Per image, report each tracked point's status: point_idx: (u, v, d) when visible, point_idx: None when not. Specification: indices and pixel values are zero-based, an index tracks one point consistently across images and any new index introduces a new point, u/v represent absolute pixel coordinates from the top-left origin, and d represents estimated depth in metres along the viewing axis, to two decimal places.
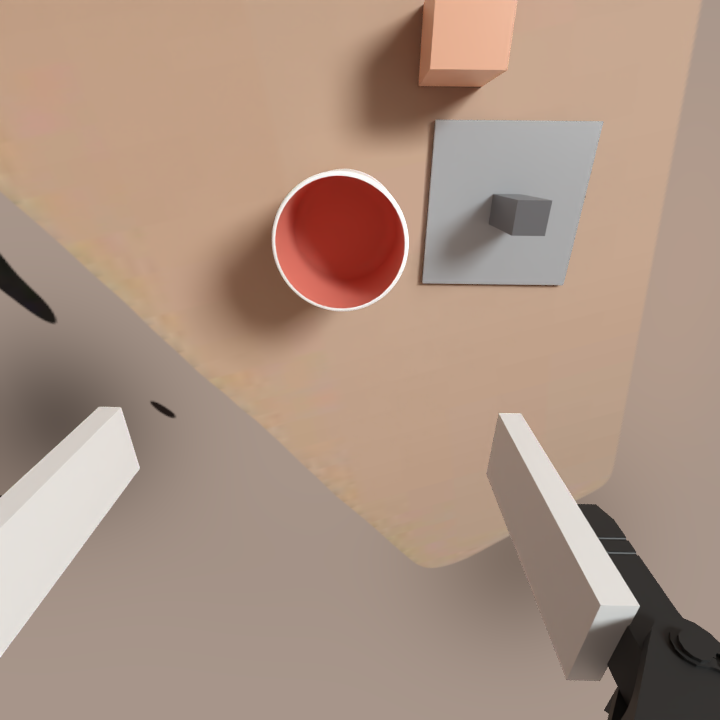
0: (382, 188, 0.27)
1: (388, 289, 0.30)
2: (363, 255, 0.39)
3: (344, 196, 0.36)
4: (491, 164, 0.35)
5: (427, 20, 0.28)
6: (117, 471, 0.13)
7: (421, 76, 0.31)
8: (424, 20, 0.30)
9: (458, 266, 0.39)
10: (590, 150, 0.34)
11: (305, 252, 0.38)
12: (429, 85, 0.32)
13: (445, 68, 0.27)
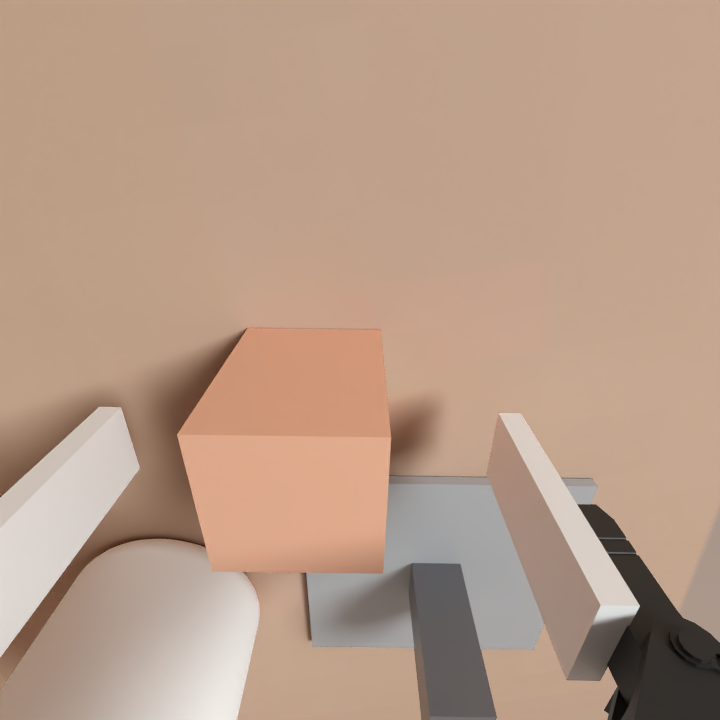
0: None
1: None
2: None
3: None
4: (405, 532, 0.20)
5: None
6: (117, 471, 0.13)
7: None
8: None
9: (365, 632, 0.24)
10: None
11: None
12: None
13: (245, 570, 0.12)
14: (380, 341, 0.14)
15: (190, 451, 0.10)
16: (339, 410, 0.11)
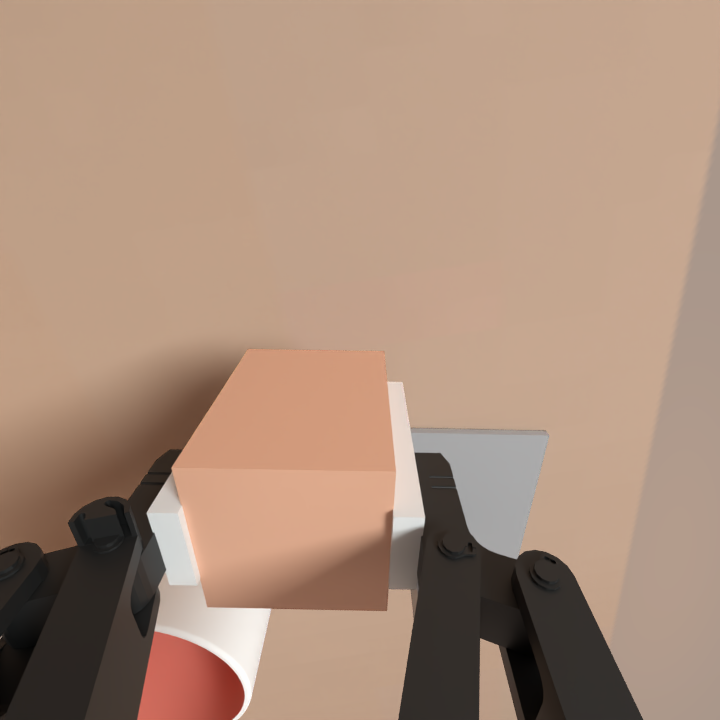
0: (196, 638, 0.18)
1: None
2: None
3: None
4: None
5: None
6: None
7: None
8: None
9: None
10: (534, 463, 0.25)
11: None
12: None
13: (242, 606, 0.11)
14: (384, 364, 0.14)
15: (185, 485, 0.09)
16: (341, 440, 0.10)
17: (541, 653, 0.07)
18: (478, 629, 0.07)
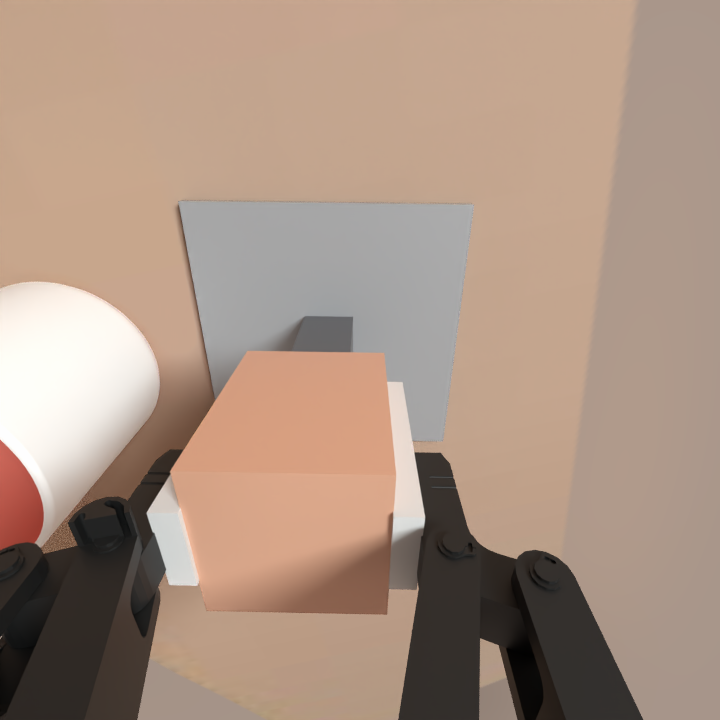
0: None
1: (38, 543, 0.16)
2: None
3: None
4: (292, 271, 0.20)
5: None
6: None
7: None
8: None
9: None
10: (458, 250, 0.20)
11: None
12: None
13: (242, 609, 0.11)
14: (384, 365, 0.14)
15: (184, 488, 0.09)
16: (341, 443, 0.10)
17: (541, 653, 0.07)
18: (478, 629, 0.07)
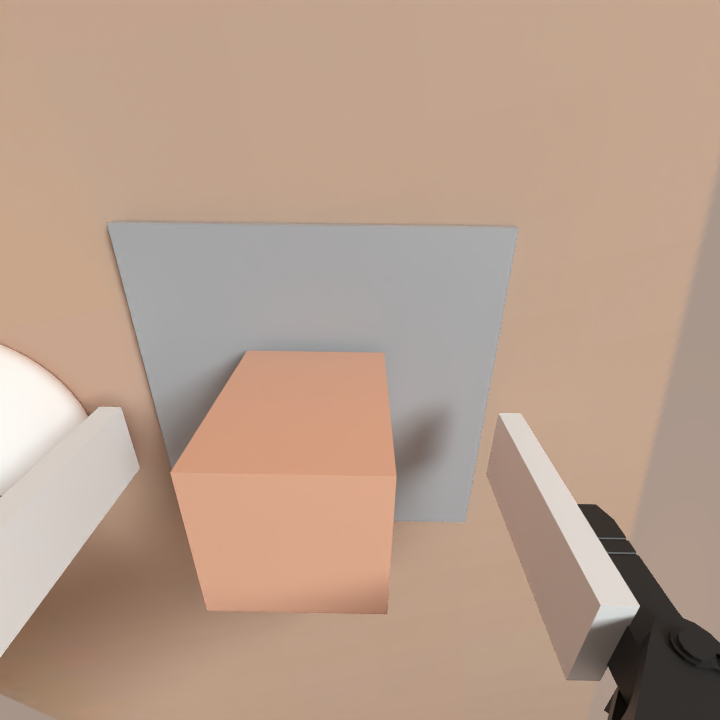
0: None
1: None
2: None
3: None
4: (268, 316, 0.15)
5: None
6: (117, 471, 0.13)
7: None
8: None
9: None
10: (494, 289, 0.14)
11: None
12: None
13: (242, 609, 0.11)
14: (384, 365, 0.14)
15: (184, 489, 0.09)
16: (341, 444, 0.10)
17: None
18: None
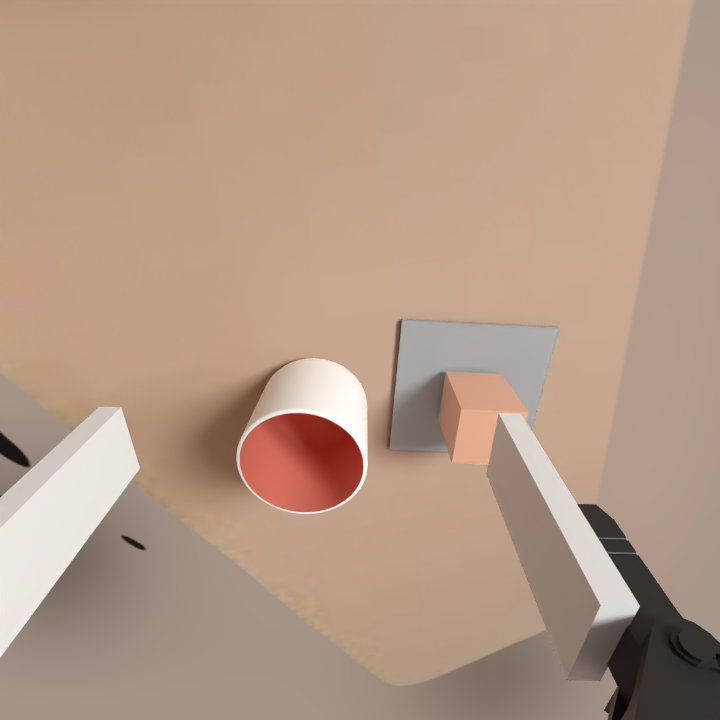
0: (341, 423, 0.28)
1: (348, 499, 0.31)
2: (332, 424, 0.40)
3: None
4: (455, 357, 0.36)
5: (449, 406, 0.34)
6: (117, 471, 0.13)
7: (442, 426, 0.37)
8: (446, 390, 0.36)
9: (423, 437, 0.40)
10: (547, 350, 0.36)
11: (276, 422, 0.39)
12: None
13: (464, 462, 0.33)
14: (505, 379, 0.35)
15: (463, 414, 0.31)
16: (507, 404, 0.31)
17: None
18: None
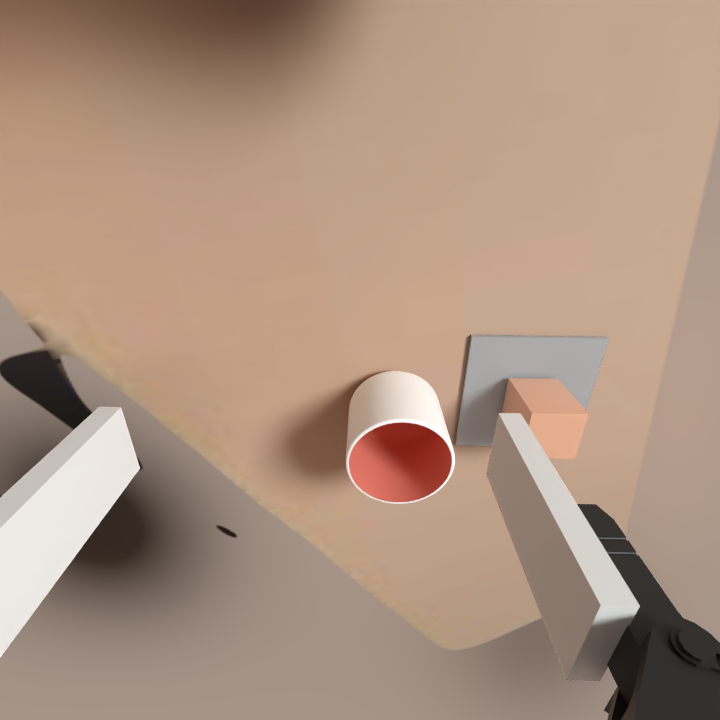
0: (436, 429, 0.34)
1: (436, 490, 0.37)
2: (407, 425, 0.46)
3: None
4: (516, 366, 0.42)
5: (516, 409, 0.40)
6: (117, 471, 0.13)
7: None
8: (510, 395, 0.41)
9: (486, 434, 0.46)
10: (598, 357, 0.41)
11: None
12: None
13: None
14: (561, 383, 0.41)
15: (533, 417, 0.36)
16: (569, 407, 0.37)
17: None
18: None
